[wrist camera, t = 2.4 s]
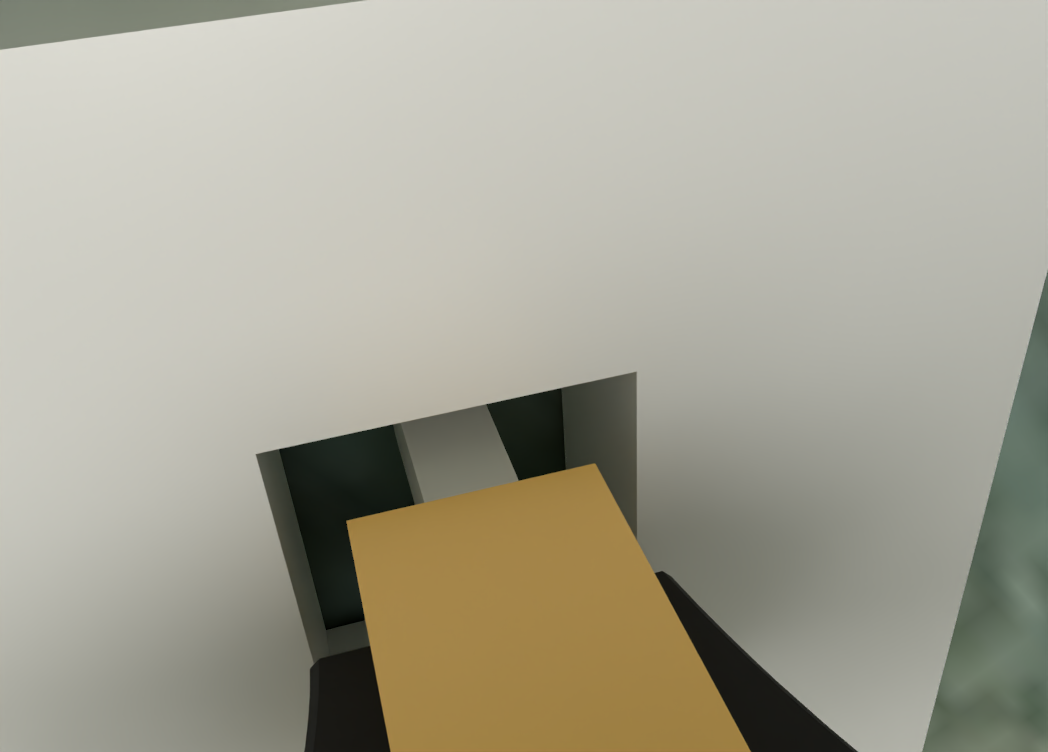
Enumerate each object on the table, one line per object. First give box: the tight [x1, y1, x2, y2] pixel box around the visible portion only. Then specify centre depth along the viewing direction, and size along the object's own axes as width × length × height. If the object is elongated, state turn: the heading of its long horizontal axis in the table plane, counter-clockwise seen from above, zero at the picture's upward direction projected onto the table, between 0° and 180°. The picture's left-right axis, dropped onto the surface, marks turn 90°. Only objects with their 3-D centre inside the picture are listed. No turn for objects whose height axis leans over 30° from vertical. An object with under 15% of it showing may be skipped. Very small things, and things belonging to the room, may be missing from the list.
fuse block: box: [0, 0, 1048, 752], centre depth 13 cm, size 14×14×3 cm
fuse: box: [346, 404, 751, 752], centre depth 11 cm, size 3×4×8 cm, turn 5°
